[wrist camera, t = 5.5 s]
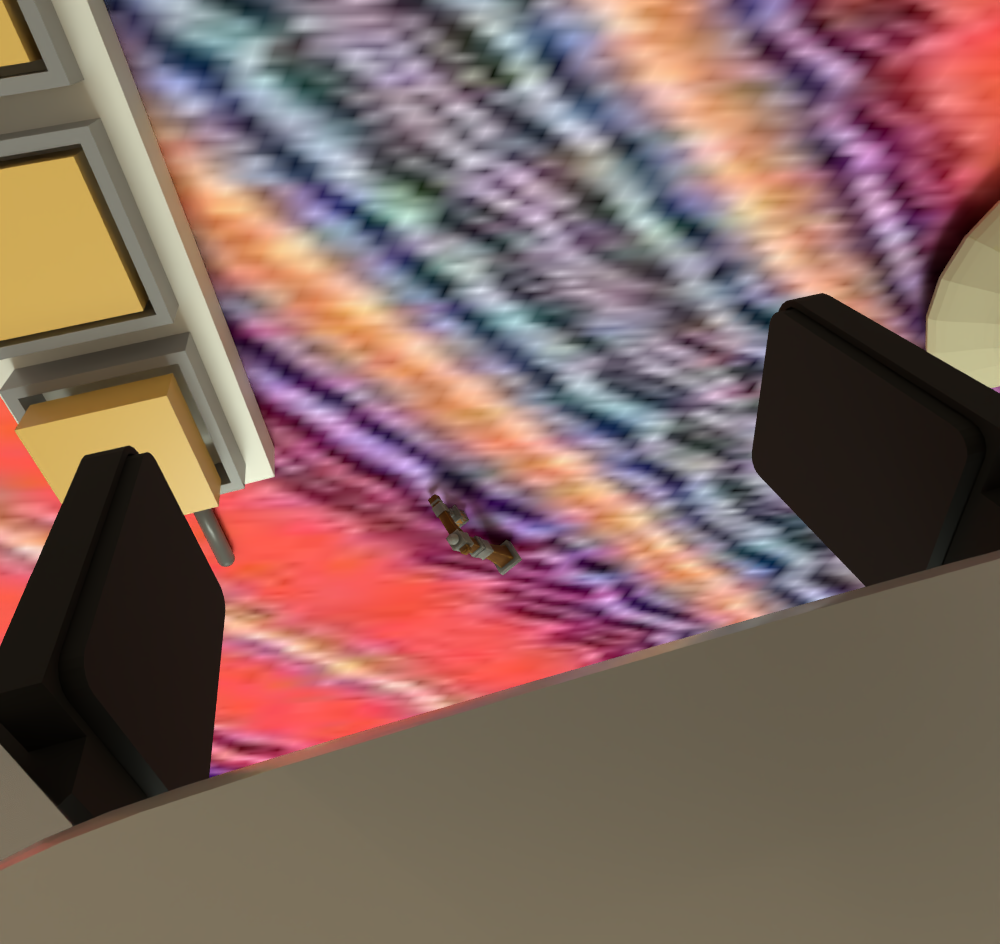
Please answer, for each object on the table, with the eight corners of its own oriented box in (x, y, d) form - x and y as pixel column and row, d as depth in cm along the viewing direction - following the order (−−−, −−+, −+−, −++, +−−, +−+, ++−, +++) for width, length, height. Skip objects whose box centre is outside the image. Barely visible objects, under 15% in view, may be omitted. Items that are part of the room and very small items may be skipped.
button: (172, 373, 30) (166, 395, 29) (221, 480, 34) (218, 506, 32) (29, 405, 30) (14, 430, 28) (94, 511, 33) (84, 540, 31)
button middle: (86, 146, 27) (73, 156, 25) (151, 293, 30) (143, 310, 29) (-80, 175, 26) (-106, 187, 24) (7, 322, 29) (-11, 342, 28)
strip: (14, -232, 23) (-42, -283, 19) (308, 538, 44) (312, 593, 40) (-320, -200, 22) (-461, -248, 18) (147, 580, 42) (133, 643, 38)
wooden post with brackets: (434, 484, 43) (467, 539, 41) (491, 513, 50) (523, 561, 48) (413, 502, 43) (445, 558, 41) (473, 528, 50) (503, 577, 48)
